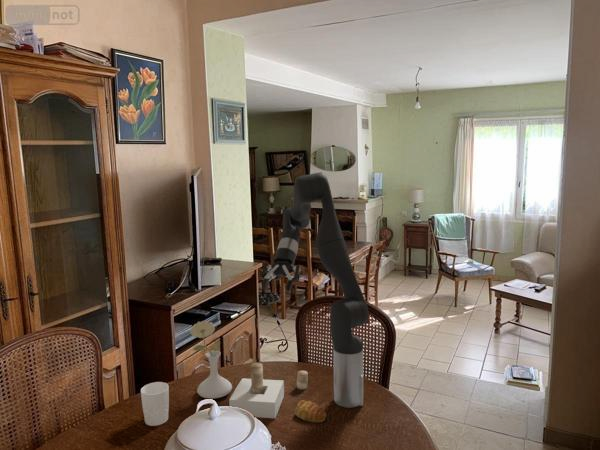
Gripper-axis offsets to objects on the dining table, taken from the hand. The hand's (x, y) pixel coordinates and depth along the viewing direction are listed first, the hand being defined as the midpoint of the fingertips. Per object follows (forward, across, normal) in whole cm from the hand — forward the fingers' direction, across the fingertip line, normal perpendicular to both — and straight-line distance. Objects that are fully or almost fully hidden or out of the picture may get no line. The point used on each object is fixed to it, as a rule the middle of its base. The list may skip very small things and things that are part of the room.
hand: (275, 290), depth 161 cm
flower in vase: (+36, -15, +7) cm, 40 cm away
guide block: (+38, +2, +6) cm, 38 cm away
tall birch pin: (+38, +2, +6) cm, 38 cm away
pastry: (+39, +20, +5) cm, 44 cm away
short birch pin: (+27, +12, +16) cm, 34 cm away
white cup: (+50, -23, -6) cm, 55 cm away
